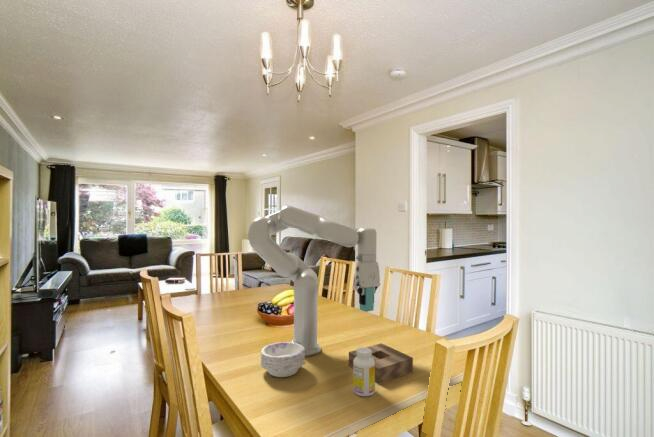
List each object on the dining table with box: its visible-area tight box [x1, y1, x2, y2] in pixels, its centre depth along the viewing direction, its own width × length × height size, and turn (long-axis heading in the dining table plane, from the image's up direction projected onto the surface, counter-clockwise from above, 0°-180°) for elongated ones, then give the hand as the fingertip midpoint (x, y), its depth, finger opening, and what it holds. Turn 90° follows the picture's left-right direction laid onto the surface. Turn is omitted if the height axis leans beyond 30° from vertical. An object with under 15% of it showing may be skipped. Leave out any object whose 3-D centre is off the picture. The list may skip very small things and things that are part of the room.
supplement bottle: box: [352, 347, 376, 397], centre depth 102 cm, size 7×7×13 cm
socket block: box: [348, 342, 414, 385], centre depth 118 cm, size 16×16×5 cm
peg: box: [359, 287, 375, 313], centre depth 135 cm, size 4×4×10 cm
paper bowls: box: [260, 341, 306, 378], centre depth 116 cm, size 15×15×8 cm
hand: (366, 303), depth 135 cm, fingers closed on peg, 4 cm apart
